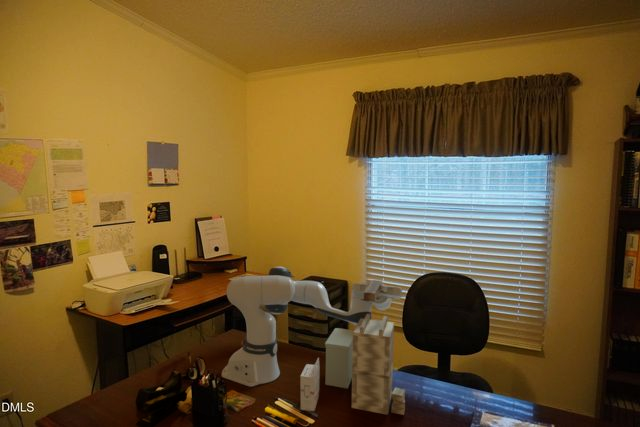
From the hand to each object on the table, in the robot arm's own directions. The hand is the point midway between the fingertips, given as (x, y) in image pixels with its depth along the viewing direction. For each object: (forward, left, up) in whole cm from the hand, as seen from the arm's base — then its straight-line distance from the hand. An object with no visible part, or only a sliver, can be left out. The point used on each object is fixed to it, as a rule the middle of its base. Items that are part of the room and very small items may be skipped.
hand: (374, 286), depth 144 cm
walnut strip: (0, -4, -2) cm, 5 cm away
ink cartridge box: (-17, -30, -35) cm, 49 cm away
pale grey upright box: (-11, -10, -34) cm, 37 cm away
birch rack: (+3, -21, -34) cm, 40 cm away
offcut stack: (+12, -24, -34) cm, 43 cm away
